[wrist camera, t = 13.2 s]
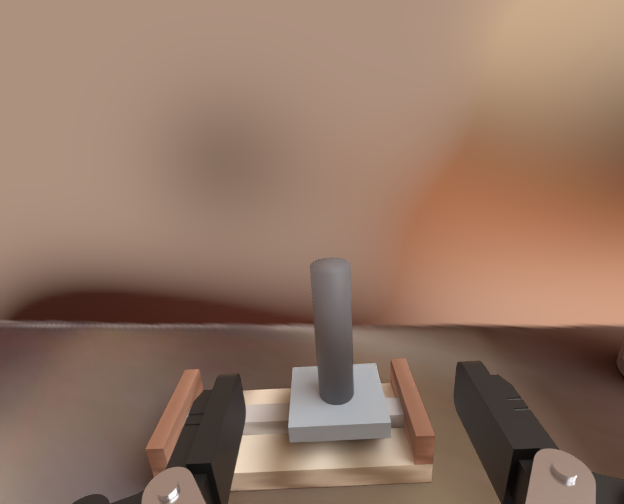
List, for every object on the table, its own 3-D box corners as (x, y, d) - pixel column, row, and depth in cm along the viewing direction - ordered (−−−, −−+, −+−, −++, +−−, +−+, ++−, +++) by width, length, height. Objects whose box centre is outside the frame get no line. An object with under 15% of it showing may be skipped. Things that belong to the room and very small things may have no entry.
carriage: (375, 388, 35) (375, 246, 29) (390, 451, 28) (394, 282, 23) (295, 392, 35) (280, 251, 29) (291, 456, 28) (271, 289, 23)
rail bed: (403, 397, 36) (405, 358, 34) (431, 481, 28) (435, 435, 26) (194, 408, 37) (185, 369, 35) (159, 494, 28) (145, 449, 27)
